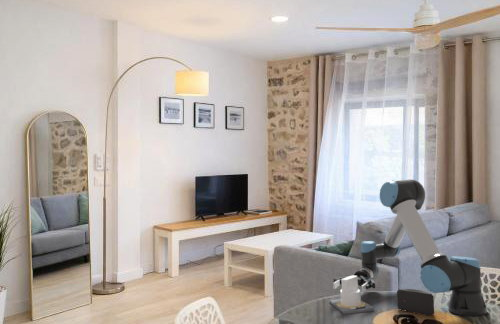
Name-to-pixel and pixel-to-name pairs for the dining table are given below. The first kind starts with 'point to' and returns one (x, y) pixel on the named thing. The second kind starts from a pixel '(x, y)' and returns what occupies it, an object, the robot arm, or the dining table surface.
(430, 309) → the black two-tone rounded device
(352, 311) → the plate
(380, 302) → the dining table surface
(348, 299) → the base with upright slab
